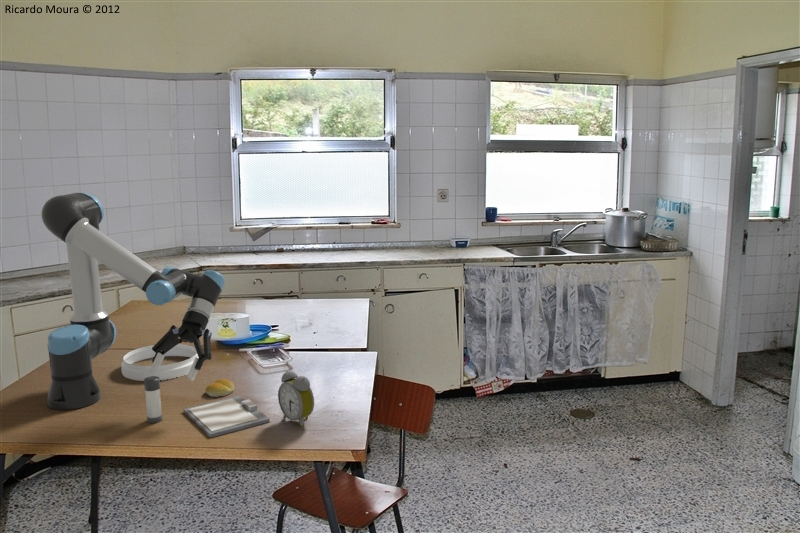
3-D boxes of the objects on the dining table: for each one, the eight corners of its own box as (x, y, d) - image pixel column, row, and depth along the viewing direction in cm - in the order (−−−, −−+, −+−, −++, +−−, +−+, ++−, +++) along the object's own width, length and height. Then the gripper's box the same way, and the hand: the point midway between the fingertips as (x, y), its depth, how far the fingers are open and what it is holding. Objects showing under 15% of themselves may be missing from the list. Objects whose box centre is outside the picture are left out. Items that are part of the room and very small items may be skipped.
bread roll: (201, 395, 214) (200, 384, 213) (218, 386, 222) (218, 375, 221) (222, 399, 211) (221, 387, 210) (238, 390, 219) (238, 378, 218)
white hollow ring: (149, 387, 221) (148, 372, 220) (107, 370, 237) (105, 356, 236) (215, 366, 242) (215, 352, 241) (172, 352, 258) (171, 338, 257)
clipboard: (183, 411, 200) (183, 404, 200) (239, 398, 211) (239, 391, 211) (210, 437, 183) (210, 429, 183) (269, 421, 194) (269, 414, 193)
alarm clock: (277, 419, 196) (276, 371, 193) (296, 412, 200) (295, 365, 197) (301, 431, 187) (299, 381, 185) (320, 424, 192) (319, 375, 189)
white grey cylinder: (145, 419, 195) (142, 378, 192) (159, 416, 197) (156, 375, 195) (149, 424, 191) (146, 382, 189) (164, 421, 194) (161, 379, 191)
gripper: (237, 324, 208) (212, 386, 197) (171, 317, 216) (143, 376, 205) (226, 312, 202) (200, 375, 191) (159, 306, 210) (130, 366, 199)
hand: (171, 376), depth 198 cm, fingers open, 13 cm apart
